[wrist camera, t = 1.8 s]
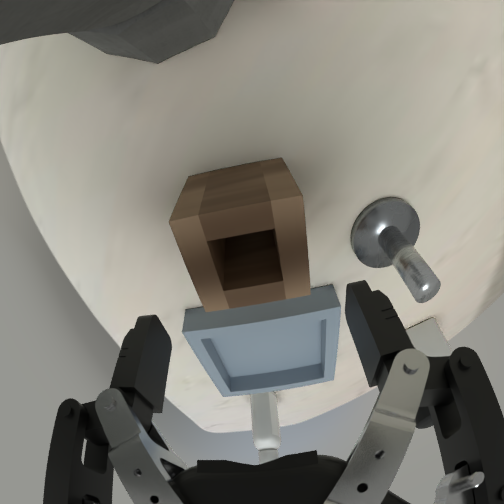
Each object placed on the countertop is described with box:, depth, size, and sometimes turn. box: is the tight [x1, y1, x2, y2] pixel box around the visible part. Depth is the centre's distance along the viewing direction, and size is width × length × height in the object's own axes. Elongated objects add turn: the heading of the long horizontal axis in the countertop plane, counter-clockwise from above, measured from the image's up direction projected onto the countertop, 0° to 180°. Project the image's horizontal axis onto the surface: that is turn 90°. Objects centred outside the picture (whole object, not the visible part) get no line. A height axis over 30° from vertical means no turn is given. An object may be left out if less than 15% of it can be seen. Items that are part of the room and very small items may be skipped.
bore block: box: [169, 158, 311, 312], centre depth 16 cm, size 6×6×6 cm
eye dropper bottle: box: [250, 391, 281, 464], centre depth 30 cm, size 4×6×12 cm
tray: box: [182, 285, 341, 397], centre depth 26 cm, size 13×13×3 cm
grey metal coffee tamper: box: [351, 197, 441, 303], centre depth 17 cm, size 6×6×7 cm
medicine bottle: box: [406, 318, 452, 429], centre depth 25 cm, size 7×7×12 cm
